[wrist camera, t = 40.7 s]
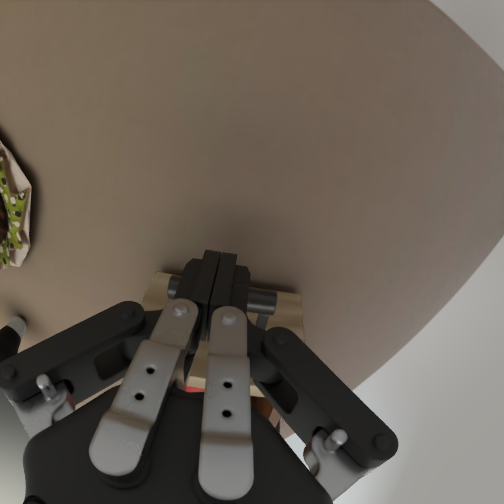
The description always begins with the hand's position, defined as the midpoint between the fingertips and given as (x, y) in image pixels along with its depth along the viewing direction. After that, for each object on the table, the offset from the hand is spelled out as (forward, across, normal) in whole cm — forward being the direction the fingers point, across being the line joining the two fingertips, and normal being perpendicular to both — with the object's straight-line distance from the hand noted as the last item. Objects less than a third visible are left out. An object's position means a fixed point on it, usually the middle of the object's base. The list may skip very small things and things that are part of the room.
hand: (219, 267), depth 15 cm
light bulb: (+8, +25, +19) cm, 33 cm away
